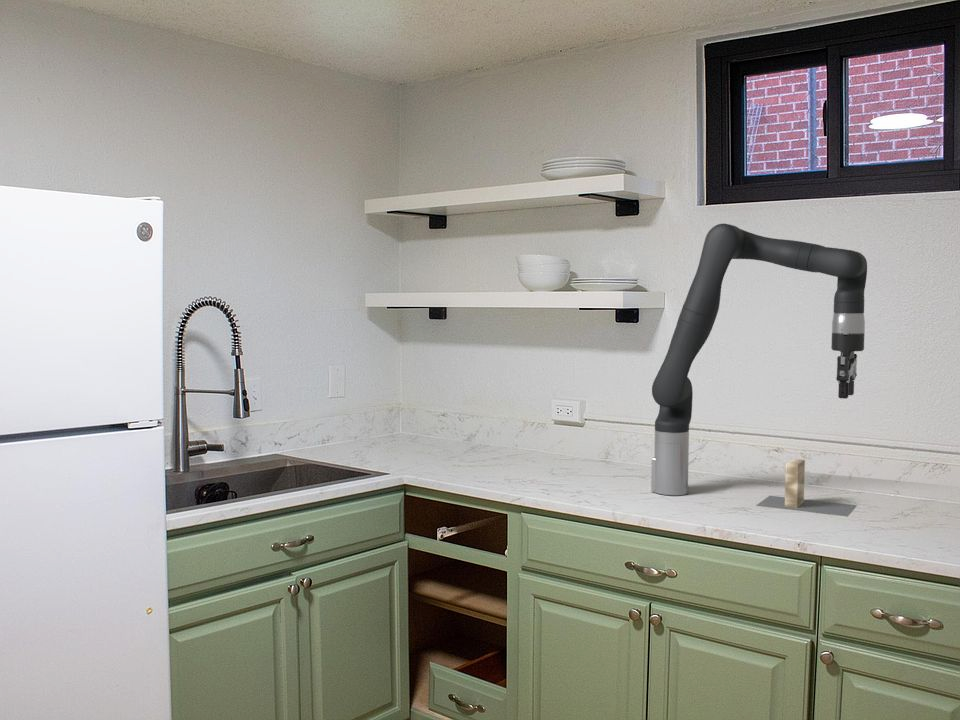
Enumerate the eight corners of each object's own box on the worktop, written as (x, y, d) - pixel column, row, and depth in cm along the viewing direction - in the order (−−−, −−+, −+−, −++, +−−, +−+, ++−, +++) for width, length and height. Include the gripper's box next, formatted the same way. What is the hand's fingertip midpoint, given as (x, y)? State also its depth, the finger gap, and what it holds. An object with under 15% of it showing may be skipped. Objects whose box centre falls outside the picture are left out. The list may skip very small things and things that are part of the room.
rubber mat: (755, 507, 232) (755, 505, 232) (769, 497, 244) (769, 495, 244) (847, 518, 221) (847, 516, 220) (856, 507, 232) (856, 505, 232)
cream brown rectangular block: (784, 506, 231) (785, 463, 230) (791, 500, 238) (792, 458, 237) (796, 507, 230) (798, 464, 229) (803, 501, 236) (804, 459, 236)
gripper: (836, 330, 233) (835, 393, 234) (826, 332, 221) (825, 398, 222) (868, 331, 229) (866, 395, 230) (860, 332, 217) (858, 400, 218)
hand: (846, 396), depth 226 cm, fingers open, 8 cm apart
